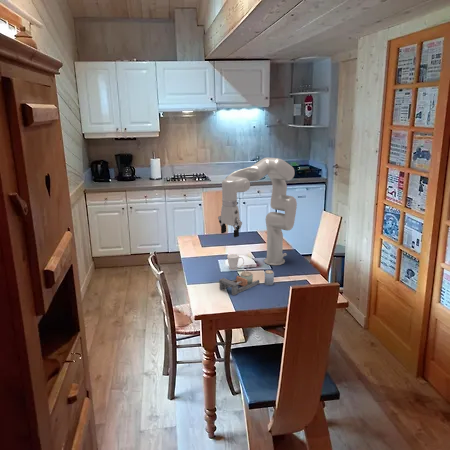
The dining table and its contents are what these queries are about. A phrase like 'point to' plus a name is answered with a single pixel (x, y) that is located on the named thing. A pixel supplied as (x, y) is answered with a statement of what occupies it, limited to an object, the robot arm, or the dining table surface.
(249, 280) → the jar resting
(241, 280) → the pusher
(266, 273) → the jar
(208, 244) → the dining table surface
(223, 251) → the dining table surface
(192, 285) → the dining table surface
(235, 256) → the cup
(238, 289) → the lane
